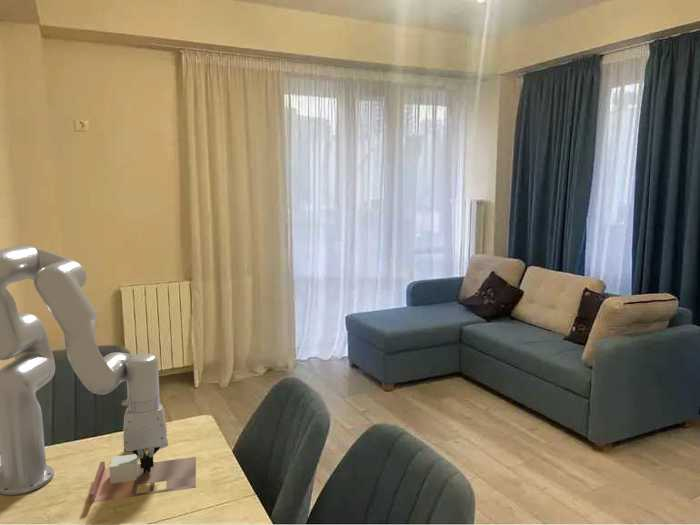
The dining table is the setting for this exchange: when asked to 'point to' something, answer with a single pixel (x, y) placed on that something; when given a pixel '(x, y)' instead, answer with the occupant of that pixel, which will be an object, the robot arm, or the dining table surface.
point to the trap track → (145, 480)
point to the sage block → (123, 468)
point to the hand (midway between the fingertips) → (147, 469)
